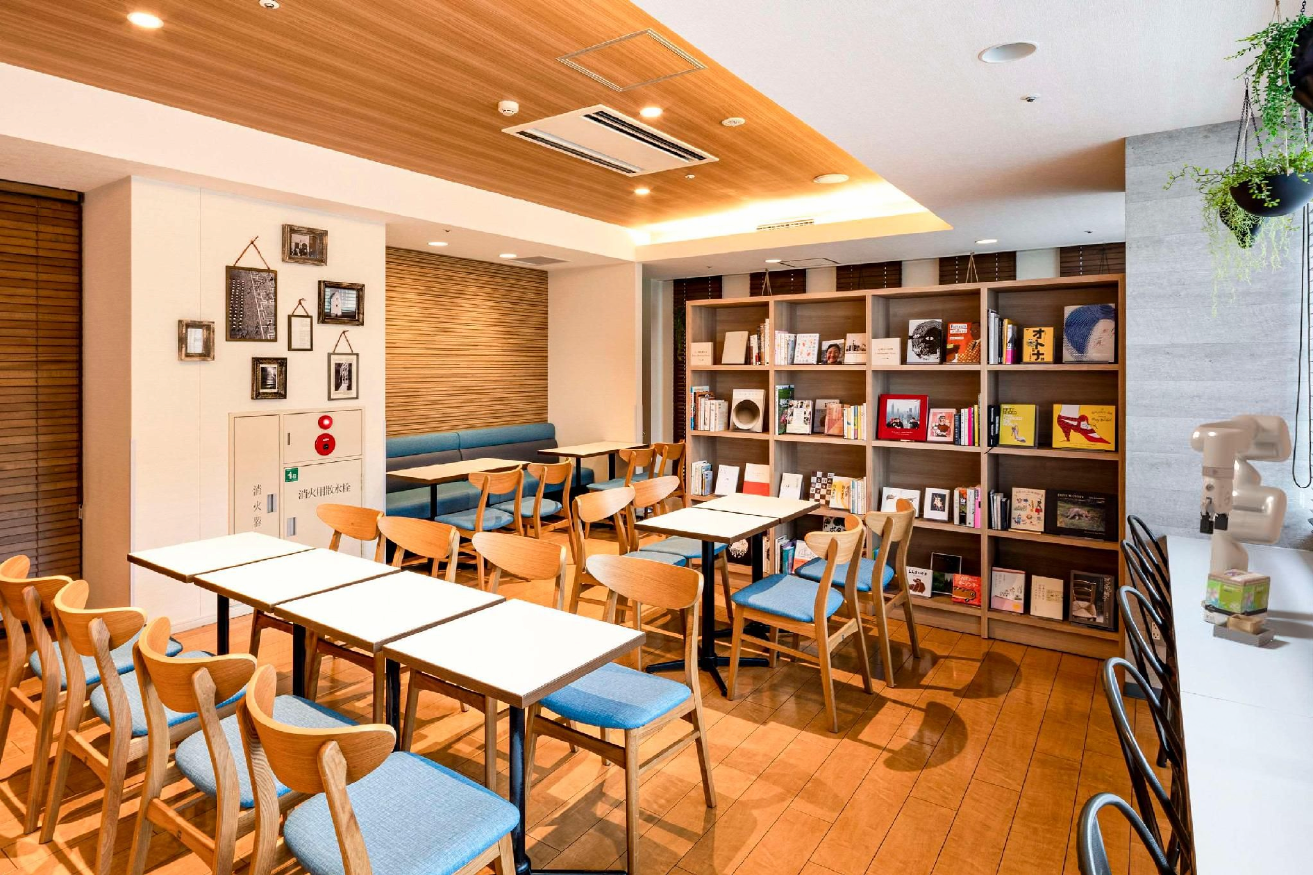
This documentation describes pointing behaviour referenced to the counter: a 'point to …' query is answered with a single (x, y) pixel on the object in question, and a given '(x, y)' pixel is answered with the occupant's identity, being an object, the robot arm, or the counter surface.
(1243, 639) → the grey square tray
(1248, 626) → the oak crate
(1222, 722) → the counter surface
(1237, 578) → the tea box
